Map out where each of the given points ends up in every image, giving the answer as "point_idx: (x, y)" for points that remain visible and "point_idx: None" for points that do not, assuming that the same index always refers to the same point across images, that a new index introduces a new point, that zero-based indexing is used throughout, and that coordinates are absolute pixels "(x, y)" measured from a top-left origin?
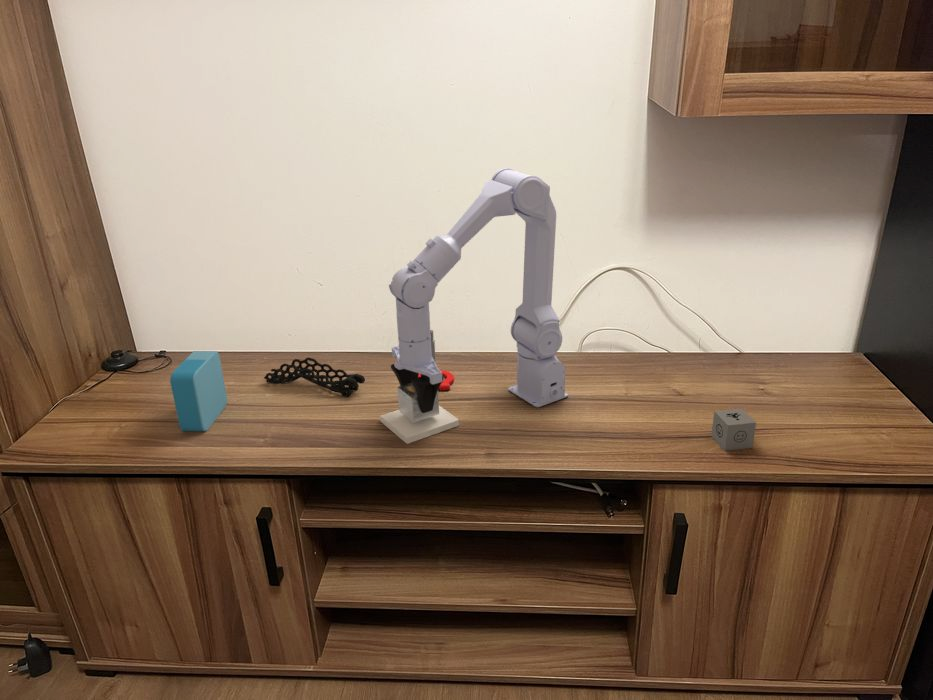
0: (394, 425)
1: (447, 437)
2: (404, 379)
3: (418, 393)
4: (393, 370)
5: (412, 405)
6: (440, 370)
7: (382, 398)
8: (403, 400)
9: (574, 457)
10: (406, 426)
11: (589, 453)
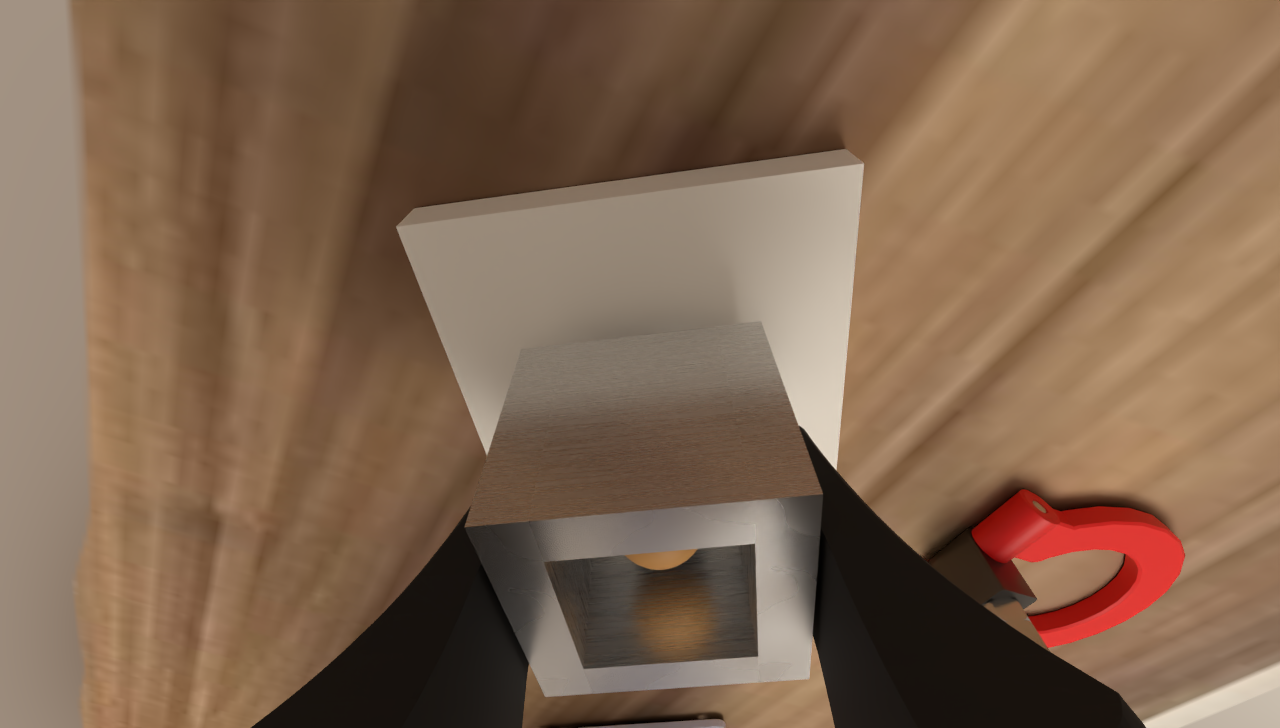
0: (635, 214)
1: (425, 437)
2: (842, 620)
3: (405, 624)
4: (1033, 686)
5: (487, 457)
6: (1091, 631)
7: (1150, 290)
8: (674, 423)
9: (157, 692)
10: (574, 288)
11: (182, 721)
